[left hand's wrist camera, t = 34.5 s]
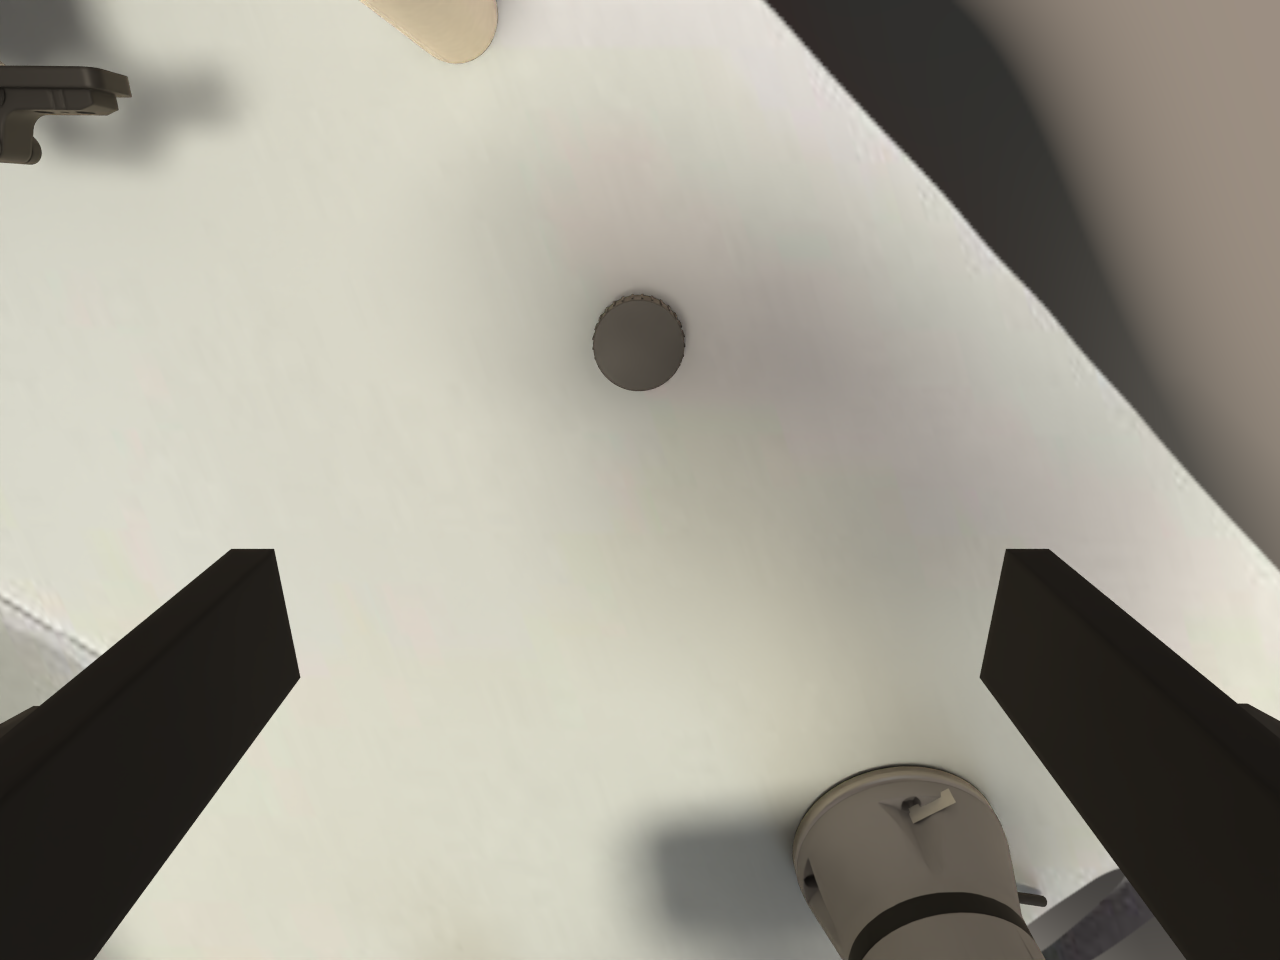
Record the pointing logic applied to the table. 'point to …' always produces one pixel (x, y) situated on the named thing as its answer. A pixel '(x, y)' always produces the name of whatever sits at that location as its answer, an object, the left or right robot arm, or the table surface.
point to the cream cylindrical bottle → (442, 25)
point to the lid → (638, 343)
